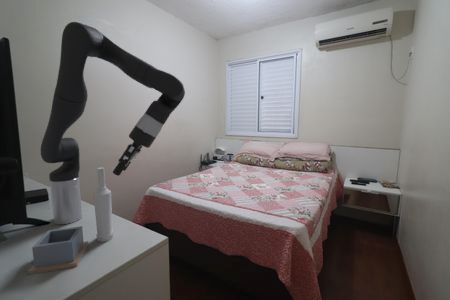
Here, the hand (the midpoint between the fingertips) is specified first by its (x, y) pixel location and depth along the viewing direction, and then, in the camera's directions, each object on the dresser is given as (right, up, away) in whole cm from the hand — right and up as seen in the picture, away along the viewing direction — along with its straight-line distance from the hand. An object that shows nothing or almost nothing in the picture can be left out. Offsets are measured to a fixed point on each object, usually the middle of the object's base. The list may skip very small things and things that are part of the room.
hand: (119, 171), depth 69 cm
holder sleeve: (-14, -25, -6) cm, 29 cm away
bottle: (-7, -24, +4) cm, 25 cm away
